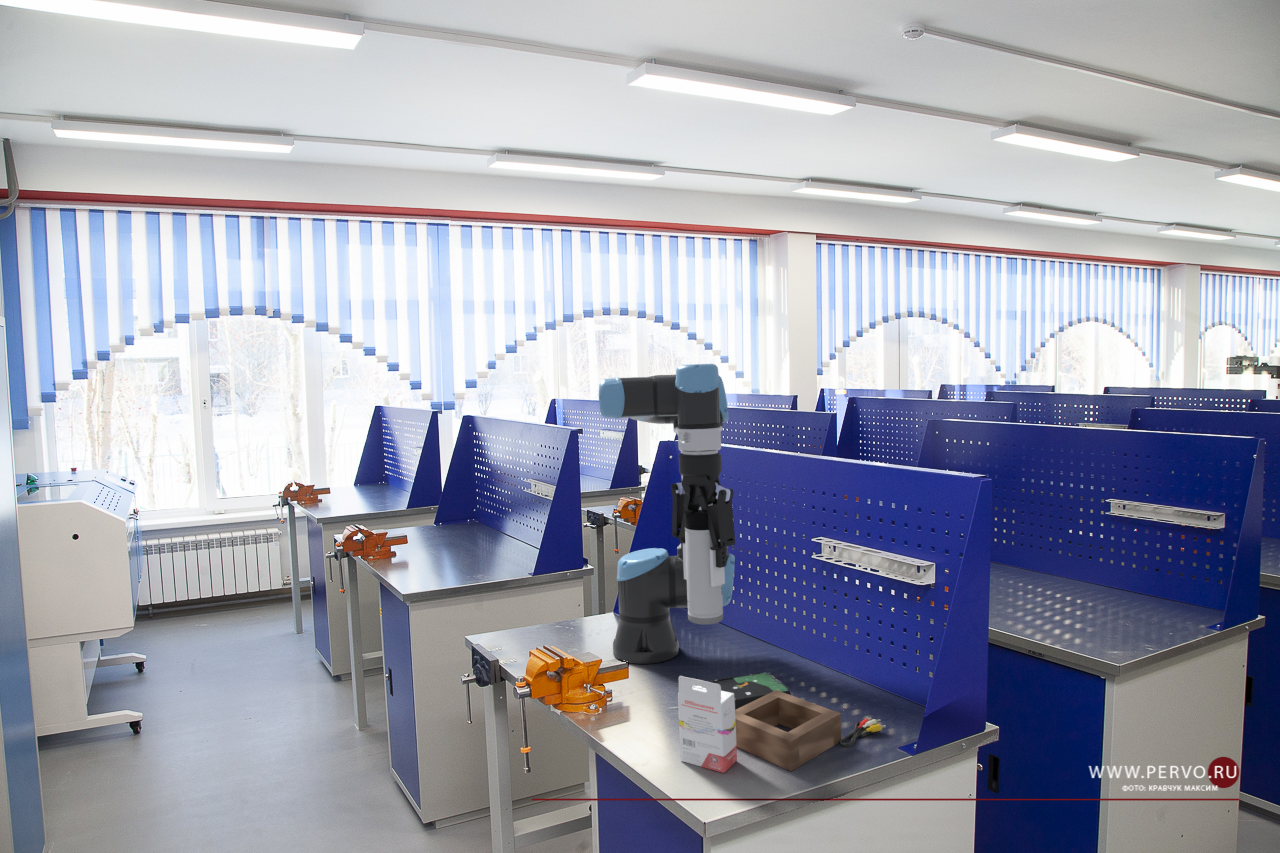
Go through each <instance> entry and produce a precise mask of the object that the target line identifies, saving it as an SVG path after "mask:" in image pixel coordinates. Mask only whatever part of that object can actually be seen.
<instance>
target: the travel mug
mask: <svg viewBox="0 0 1280 853" xmlns="http://www.w3.org/2000/svg"><path fill="white" fill-rule="evenodd" d="M685 522H686V523H685V530H686V531H685V545H686V573H687V602H688V607H687V619H688V621H689V622H691V623H693V624H697V625H714V624H718V623H720V622H722V621H723V620H724V606H723V595H722V585H719V586H715V587H713V586H711V576H710V547H713V544H712V540H711V536H710V532H709V528H708V514H705V513H704V512H703V511H702V510H699V511H698V512H695V511H691V510H685ZM719 541H720V540H719Z"/></svg>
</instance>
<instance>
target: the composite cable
mask: <svg viewBox="0 0 1280 853" xmlns="http://www.w3.org/2000/svg"><path fill="white" fill-rule="evenodd" d="M880 722H881V719H880V718H879V719H876V718H875V719H874V718H872V717H871V716H870V717H867V718H864V719H863V720H860V721H857V722H856V723H855V726H854V729H853V731H852V732H851V733H848V734H847V735H846V736H844V737H841V740H840V742H839V744H840V745H841V746H842V747H844V748H852V747H853V746H854V745H855V744H856V741H857V738H863V737H867V736H869V735H872V734H875V733H876V732H881V731H882V730H883V729H885V728H886V727H887V726H886V724H884V725H882V724H880ZM849 740H850V741H849ZM847 741H848V742H847Z"/></svg>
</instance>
